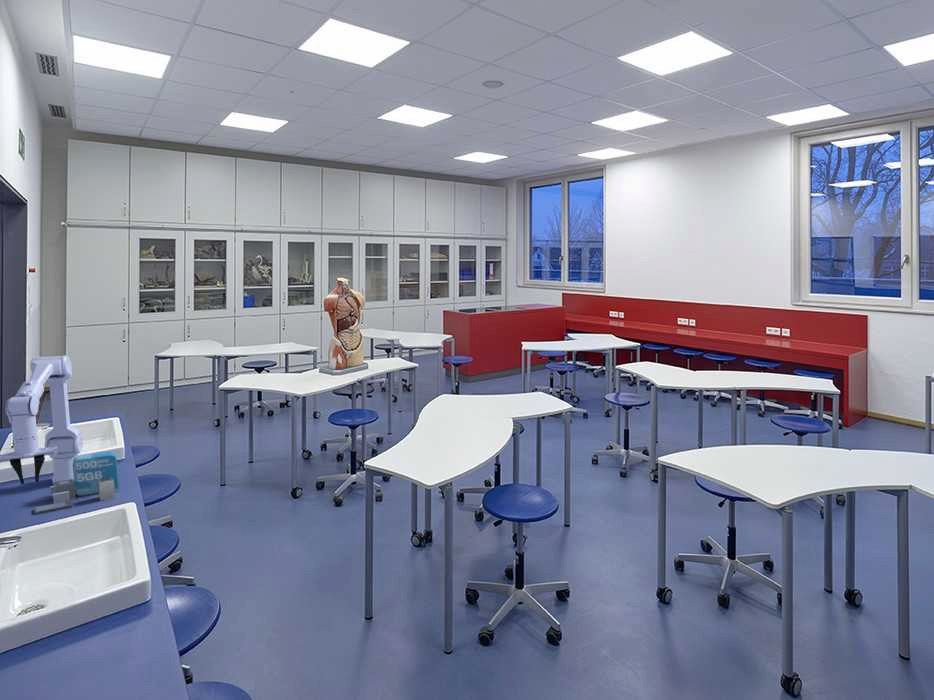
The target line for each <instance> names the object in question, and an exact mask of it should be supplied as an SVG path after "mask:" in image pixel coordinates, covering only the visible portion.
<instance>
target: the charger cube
mask: <svg viewBox="0 0 934 700" xmlns="http://www.w3.org/2000/svg"><path fill="white" fill-rule="evenodd" d="M53 486H54V488H55V493H60V492H65V491H69V496H70V500H73V498H74V499H76V494H75V485H74V481H73V479H70V480H64V481H58V482H54V484H53Z"/></svg>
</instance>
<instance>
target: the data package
mask: <svg viewBox="0 0 934 700" xmlns="http://www.w3.org/2000/svg"><path fill="white" fill-rule="evenodd" d="M72 466H73V477H74V485H75V496H80V497H81V496H88V494H89V495H93V494H94V493H95V494H98V485H97V479H100V478H106V477H111V476H112V478H113V479H114V489H115V490H117V489H118V487H119V473H118V461H117V454H116V453H115V452H114V451H108V452H107V451H106V452H100V453H98V452H97V453H90V454H83V455H78V456H77V457H75V458H74V459H73V464H72Z"/></svg>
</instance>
